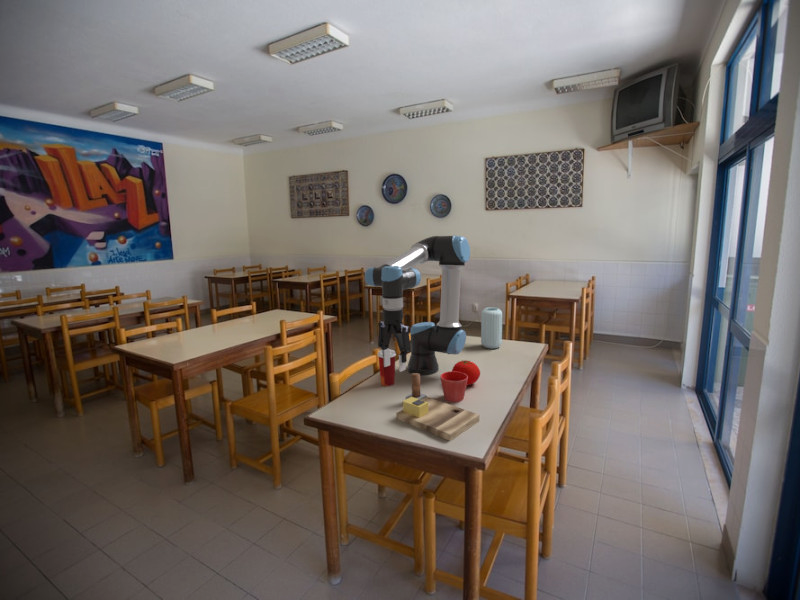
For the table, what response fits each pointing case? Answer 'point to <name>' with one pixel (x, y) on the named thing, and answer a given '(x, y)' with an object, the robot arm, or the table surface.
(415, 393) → the brown rounded cylinder
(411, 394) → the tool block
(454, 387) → the flower pot
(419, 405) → the block
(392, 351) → the coffee cup
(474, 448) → the table surface
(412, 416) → the subfloor panel
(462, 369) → the tomato
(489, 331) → the vase
